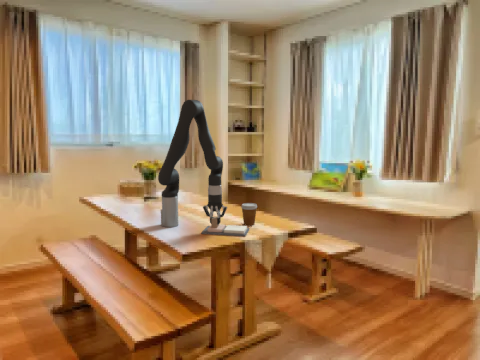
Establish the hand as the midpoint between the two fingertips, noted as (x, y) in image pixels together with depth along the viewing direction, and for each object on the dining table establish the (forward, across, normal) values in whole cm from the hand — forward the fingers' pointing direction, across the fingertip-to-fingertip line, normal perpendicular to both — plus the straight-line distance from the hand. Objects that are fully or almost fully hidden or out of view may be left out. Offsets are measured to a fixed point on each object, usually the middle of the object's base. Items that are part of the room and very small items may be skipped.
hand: (215, 223), depth 194 cm
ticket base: (+4, +6, 0) cm, 7 cm away
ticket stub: (+3, +1, 0) cm, 3 cm away
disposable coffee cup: (+4, +16, +18) cm, 24 cm away
